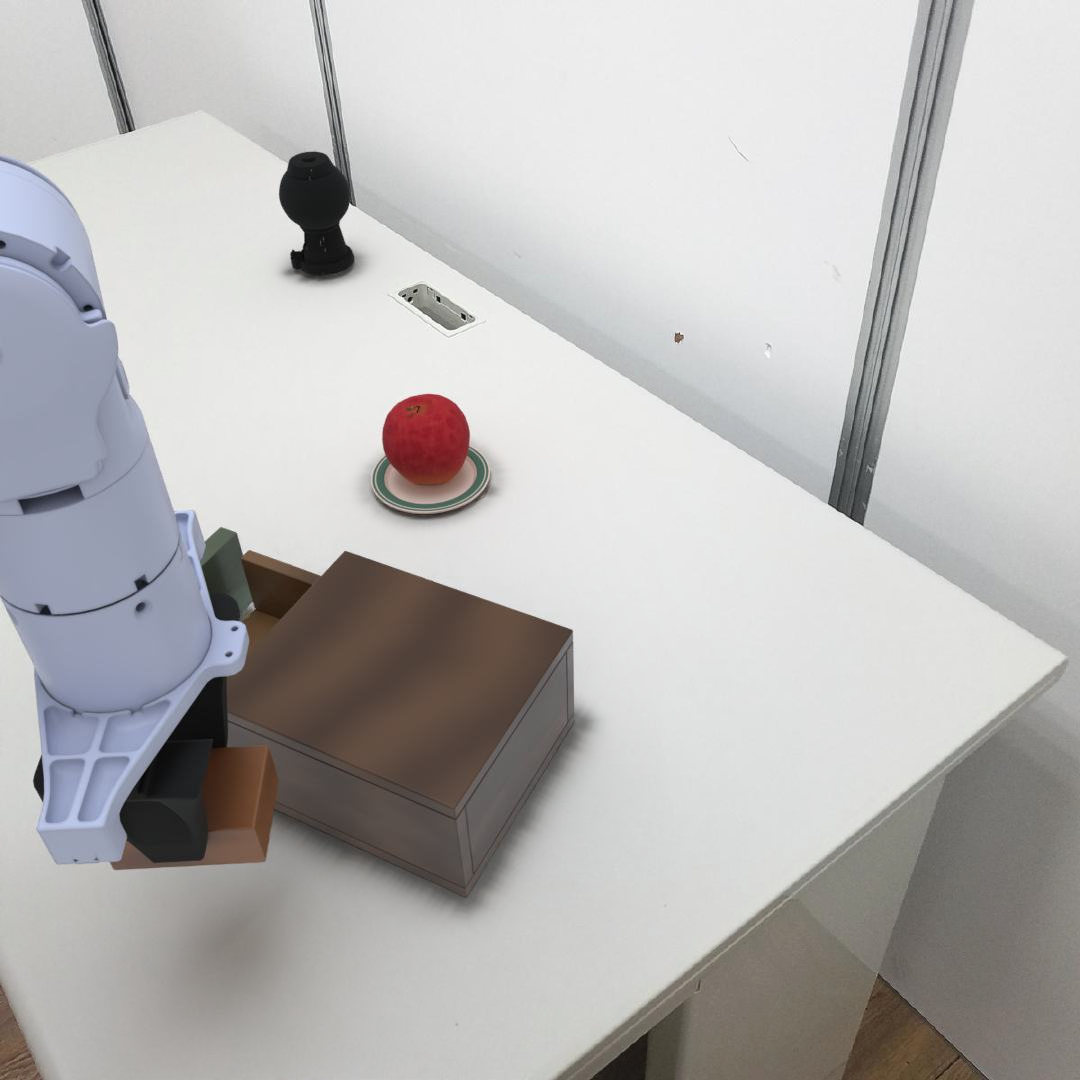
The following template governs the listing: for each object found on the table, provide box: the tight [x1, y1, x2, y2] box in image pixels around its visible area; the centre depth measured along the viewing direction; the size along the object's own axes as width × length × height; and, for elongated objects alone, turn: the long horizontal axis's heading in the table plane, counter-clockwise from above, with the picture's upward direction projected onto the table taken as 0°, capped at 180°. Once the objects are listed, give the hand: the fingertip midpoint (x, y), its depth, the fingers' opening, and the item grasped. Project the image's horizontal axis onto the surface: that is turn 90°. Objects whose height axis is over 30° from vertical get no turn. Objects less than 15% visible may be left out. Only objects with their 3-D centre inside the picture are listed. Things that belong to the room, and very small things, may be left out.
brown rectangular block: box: [109, 745, 279, 871], centre depth 44 cm, size 6×4×2 cm, turn 92°
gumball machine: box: [278, 147, 355, 278], centre depth 95 cm, size 7×6×10 cm
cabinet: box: [227, 550, 575, 898], centre depth 56 cm, size 14×12×7 cm
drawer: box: [200, 526, 322, 656], centre depth 60 cm, size 17×10×5 cm, turn 63°
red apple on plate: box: [370, 393, 491, 515], centre depth 73 cm, size 8×8×6 cm
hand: (190, 804), depth 44 cm, fingers closed on brown rectangular block, 4 cm apart
